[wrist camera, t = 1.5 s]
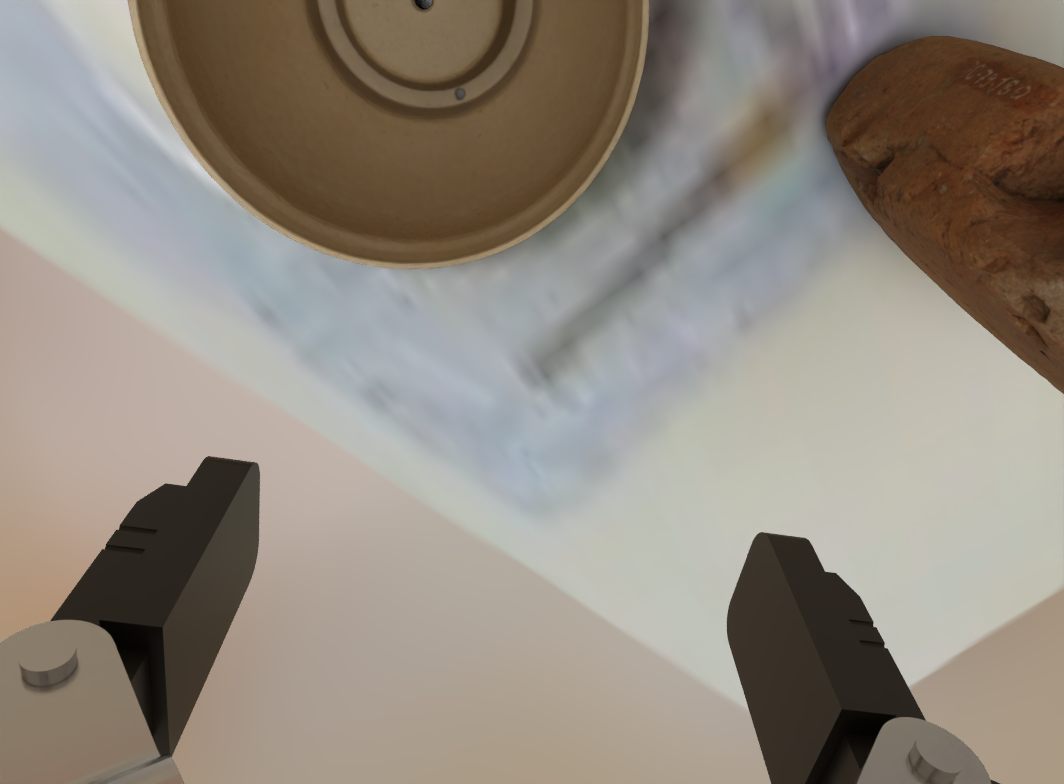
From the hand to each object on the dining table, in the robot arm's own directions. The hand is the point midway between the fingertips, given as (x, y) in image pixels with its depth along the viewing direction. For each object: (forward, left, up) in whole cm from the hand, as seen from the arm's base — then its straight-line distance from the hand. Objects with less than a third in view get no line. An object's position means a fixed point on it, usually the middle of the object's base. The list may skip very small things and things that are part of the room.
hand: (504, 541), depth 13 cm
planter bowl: (-5, -4, -29) cm, 29 cm away
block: (+1, +19, -29) cm, 35 cm away
